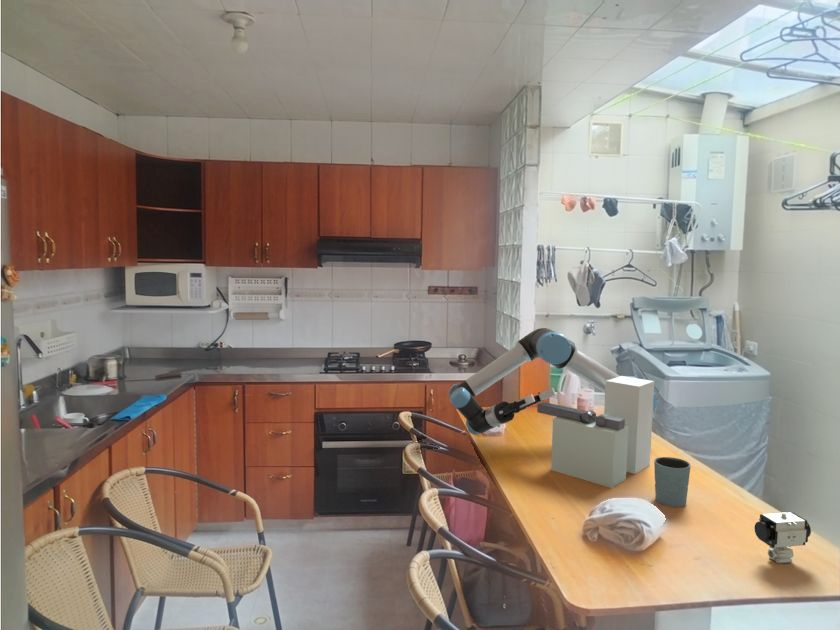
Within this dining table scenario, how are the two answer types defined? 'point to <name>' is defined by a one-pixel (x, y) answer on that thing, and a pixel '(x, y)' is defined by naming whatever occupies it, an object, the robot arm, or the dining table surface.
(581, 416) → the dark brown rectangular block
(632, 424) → the taupe rectangular block
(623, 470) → the grey-green rectangular block
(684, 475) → the blue-grey cup
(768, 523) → the pneumatic valve
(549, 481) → the dining table surface
